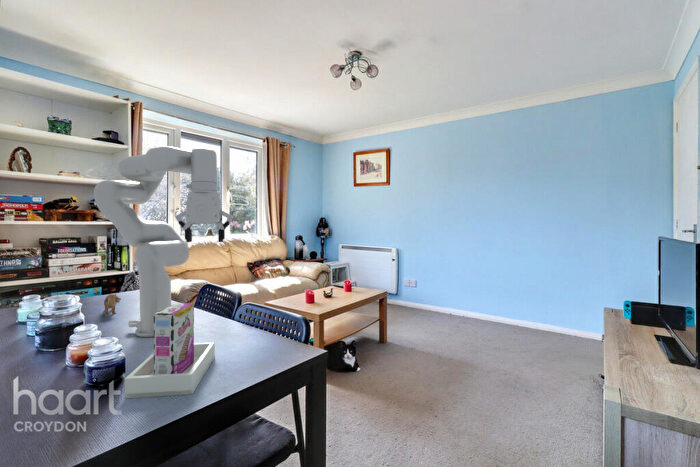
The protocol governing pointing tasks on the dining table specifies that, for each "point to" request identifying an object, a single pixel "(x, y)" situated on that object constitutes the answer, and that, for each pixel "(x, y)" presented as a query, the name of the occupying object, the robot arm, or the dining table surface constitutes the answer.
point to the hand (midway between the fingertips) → (205, 241)
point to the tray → (169, 376)
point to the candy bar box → (174, 339)
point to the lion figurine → (111, 303)
